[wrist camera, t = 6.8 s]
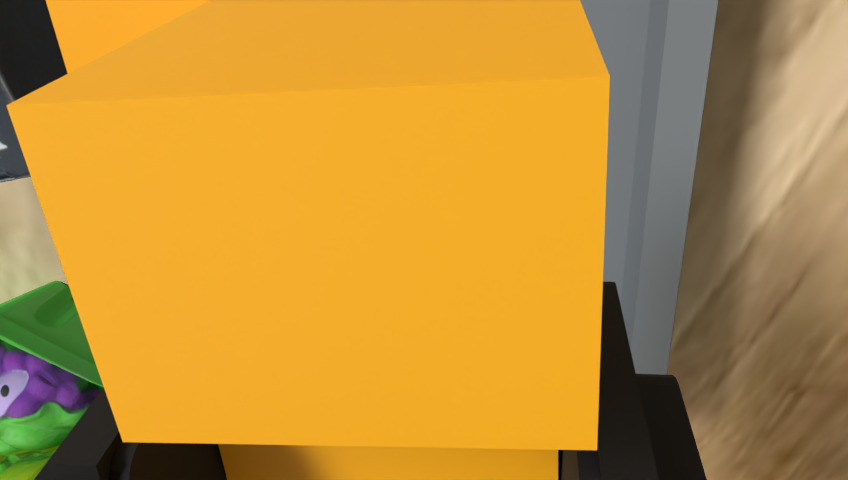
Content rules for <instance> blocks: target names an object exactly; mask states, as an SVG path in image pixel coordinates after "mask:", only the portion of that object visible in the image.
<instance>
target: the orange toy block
mask: <svg viewBox="0 0 848 480" xmlns="http://www.w3.org/2000/svg"><path fill="white" fill-rule="evenodd" d="M46 3H47V7H48V10H49V13H50V17H51V20H52V23H53V27H54V30H55V33H56V37H57V40H58V43H59V47H60V50H61V53H62V57H63V60H64V63H65V66H66V70H67V73H68V74H66V75H64V76H62V77H61V78H59V79H57V80H55V81H53V82H51V83H49V84H47V85H45V86H43V87H41V88H39V89H37V90H35V91H33V92H31V93H29V94H27V95H26V96H24V97H22V98H20V99H18V100H16V101H14V102H12V103H10V104H8V105H6V106H7V109H8V112H9V115H10V117H11V120H12V123H13V126H14V129H15V132H16V135H17V138H18V141H19V143H20V146H21V149H22V152H23V155H24V158H25V161H26V164H27V167H28V169H29V172H30V175H31V178H32V181H33V184H34V187H35V190H36V193H37V195H38V198H39V201H40V204H41V207H42V210H43V213H44V216H45V219H46V221H47V224H48V227H49V230H50V233H51V236H52V239H53V242H54V245H55V248H56V250H57V253H58V256H59V259H60V262H61V265H62V268H63V271H64V274H65V276H66V279H67V282H68V285H69V288H70V291H71V294H72V297H73V300H74V302H75V305H76V308H77V311H78V314H79V317H80V320H81V323H82V326H83V328H84V331H85V334H86V337H87V340H88V343H89V346H90V349H91V352H92V355H93V357H94V360H95V363H96V366H97V369H98V372H99V375H100V378H101V381H102V383H103V386H104V389H105V392H106V395H107V398H108V401H109V404H110V407H111V409H112V412H113V415H114V418H115V421H116V424H117V427H118V430H119V433H120V435H121V438H122V441H123V442H142V443H200V444H218V446H219V450H220V454H221V457H222V461H223V465H224V468H225V472H226V477H227V480H558V450H597V440H598V411H599V381H600V352H601V323H602V293H603V264H604V235H605V205H606V176H607V147H608V117H609V88H610V75H609V73H608V70H607V68H606V65H605V63H604V60H603V58H602V55H601V53H600V50H599V47H598V45H597V42H596V40H595V37H594V35H593V32H592V30H591V27H590V25H589V22H588V20H587V17H586V14H585V12H584V9H583V7H582V4H581V2H580V0H46Z"/></svg>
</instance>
